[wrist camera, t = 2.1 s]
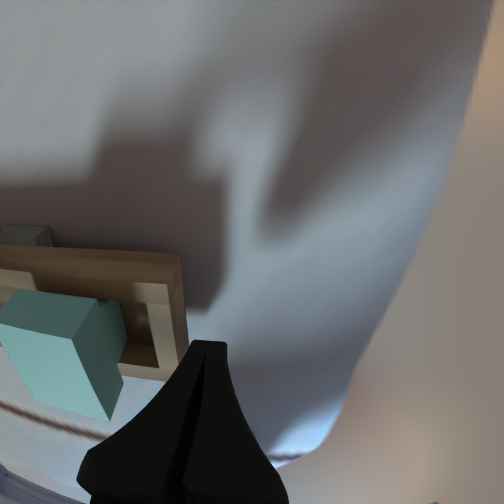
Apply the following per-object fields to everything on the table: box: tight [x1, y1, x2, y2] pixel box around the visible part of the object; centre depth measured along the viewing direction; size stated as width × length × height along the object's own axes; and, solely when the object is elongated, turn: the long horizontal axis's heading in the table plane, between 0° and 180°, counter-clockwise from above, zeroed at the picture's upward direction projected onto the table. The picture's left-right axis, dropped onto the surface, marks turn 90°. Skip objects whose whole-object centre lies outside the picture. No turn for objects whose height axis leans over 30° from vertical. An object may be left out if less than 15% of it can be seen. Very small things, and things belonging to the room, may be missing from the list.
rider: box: [0, 289, 128, 422], centre depth 13 cm, size 5×4×5 cm
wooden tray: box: [0, 226, 189, 382], centre depth 15 cm, size 7×20×4 cm, turn 88°
